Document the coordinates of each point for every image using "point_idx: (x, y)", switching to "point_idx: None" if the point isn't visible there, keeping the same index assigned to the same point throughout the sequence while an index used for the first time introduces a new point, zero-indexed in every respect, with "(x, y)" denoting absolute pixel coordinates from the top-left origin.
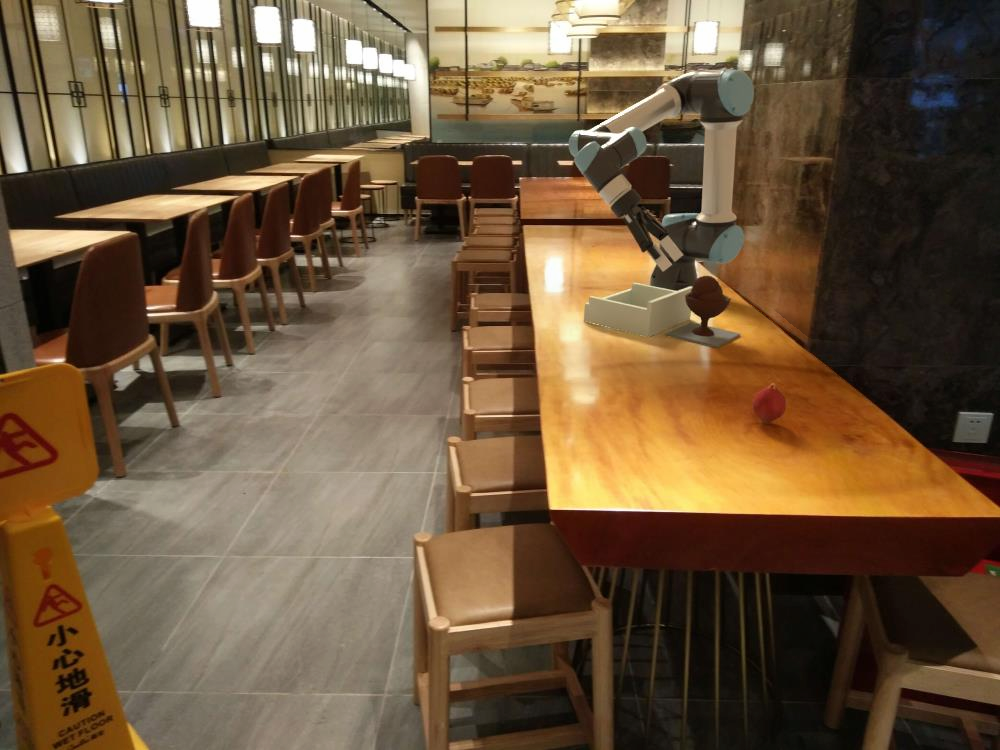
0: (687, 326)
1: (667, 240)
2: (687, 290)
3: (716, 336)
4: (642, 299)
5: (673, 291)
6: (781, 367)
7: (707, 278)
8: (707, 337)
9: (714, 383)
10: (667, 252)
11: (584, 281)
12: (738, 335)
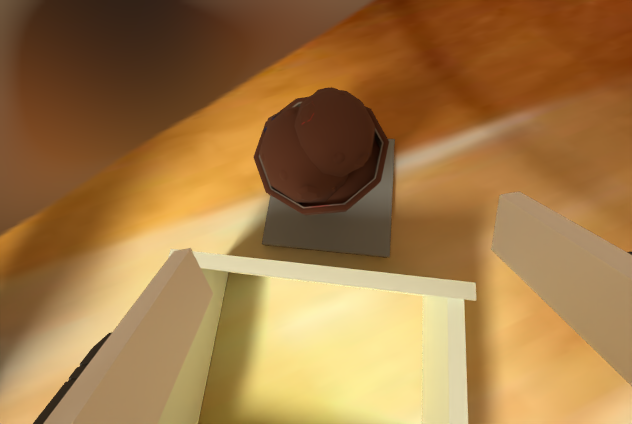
0: (300, 236)
1: (117, 396)
2: (216, 254)
3: None
4: (183, 422)
5: None
6: (417, 34)
7: (349, 104)
8: None
9: (598, 76)
10: (186, 354)
11: None
12: None
